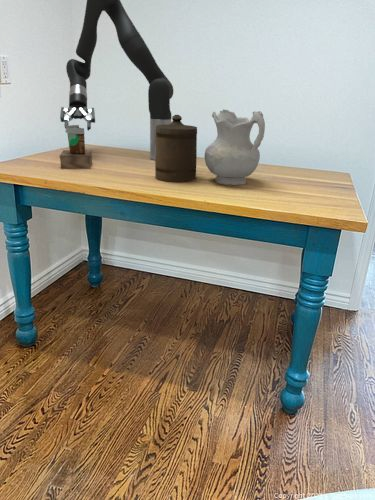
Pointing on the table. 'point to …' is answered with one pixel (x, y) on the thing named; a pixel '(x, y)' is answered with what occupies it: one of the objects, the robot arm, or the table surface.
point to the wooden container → (176, 151)
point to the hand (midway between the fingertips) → (77, 129)
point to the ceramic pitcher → (234, 148)
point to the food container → (76, 139)
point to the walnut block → (76, 160)
